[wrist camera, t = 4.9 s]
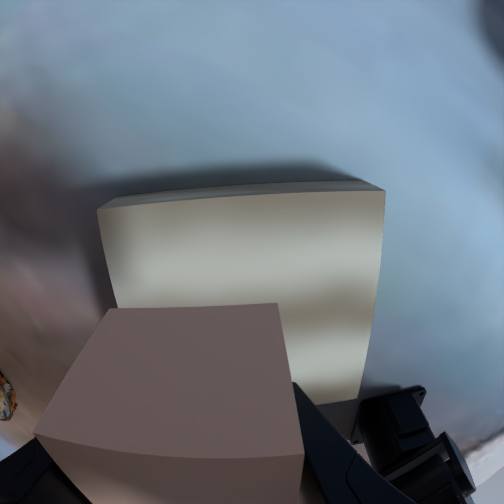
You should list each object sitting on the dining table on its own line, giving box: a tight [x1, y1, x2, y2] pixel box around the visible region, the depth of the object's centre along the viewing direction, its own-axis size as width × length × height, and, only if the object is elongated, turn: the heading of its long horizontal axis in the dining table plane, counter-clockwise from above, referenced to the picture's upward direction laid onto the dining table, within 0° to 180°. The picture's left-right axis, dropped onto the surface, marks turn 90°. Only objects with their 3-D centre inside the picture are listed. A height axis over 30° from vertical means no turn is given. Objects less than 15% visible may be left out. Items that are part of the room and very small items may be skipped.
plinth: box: [96, 180, 386, 405], centre depth 18 cm, size 14×14×3 cm
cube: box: [33, 303, 305, 504], centre depth 7 cm, size 5×5×5 cm
